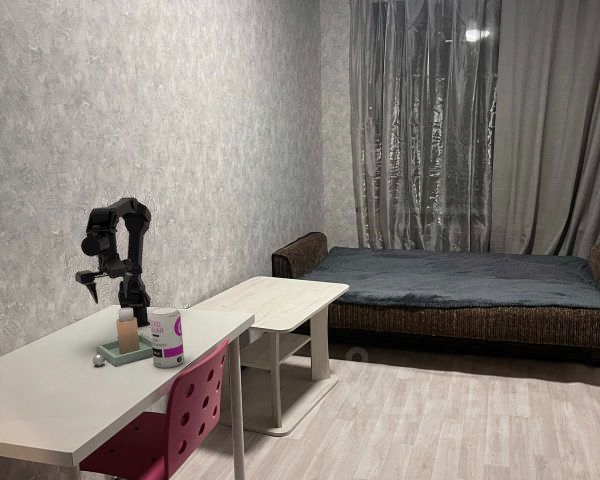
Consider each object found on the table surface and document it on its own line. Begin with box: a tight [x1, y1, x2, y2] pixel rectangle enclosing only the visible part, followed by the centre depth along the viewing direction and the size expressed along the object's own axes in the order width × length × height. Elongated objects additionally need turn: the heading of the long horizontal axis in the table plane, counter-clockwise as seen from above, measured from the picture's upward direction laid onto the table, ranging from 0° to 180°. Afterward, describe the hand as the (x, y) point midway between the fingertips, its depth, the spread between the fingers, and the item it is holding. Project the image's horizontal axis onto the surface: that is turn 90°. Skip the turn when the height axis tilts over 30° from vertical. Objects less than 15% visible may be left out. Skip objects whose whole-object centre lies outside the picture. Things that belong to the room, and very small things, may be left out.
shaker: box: [115, 308, 140, 355], centre depth 174 cm, size 6×6×12 cm
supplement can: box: [149, 306, 185, 369], centre depth 165 cm, size 8×8×15 cm
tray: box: [96, 333, 153, 367], centre depth 175 cm, size 14×14×2 cm
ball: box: [92, 354, 106, 367], centre depth 167 cm, size 3×3×3 cm
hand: (112, 300), depth 184 cm, fingers open, 9 cm apart
